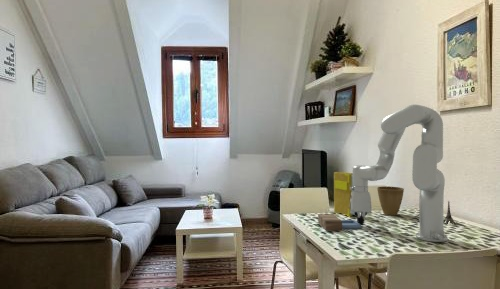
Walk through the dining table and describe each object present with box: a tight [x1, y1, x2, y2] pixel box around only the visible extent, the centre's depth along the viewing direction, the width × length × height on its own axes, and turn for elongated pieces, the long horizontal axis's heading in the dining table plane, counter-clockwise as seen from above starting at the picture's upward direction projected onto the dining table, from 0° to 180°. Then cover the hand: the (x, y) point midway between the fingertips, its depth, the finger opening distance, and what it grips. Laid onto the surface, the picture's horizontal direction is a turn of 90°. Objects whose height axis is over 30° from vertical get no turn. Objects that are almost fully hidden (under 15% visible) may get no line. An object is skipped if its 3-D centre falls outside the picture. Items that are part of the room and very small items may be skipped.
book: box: [333, 171, 357, 217], centre depth 204 cm, size 17×7×25 cm, turn 22°
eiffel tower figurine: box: [444, 200, 457, 226], centre depth 178 cm, size 15×10×13 cm
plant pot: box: [376, 185, 405, 217], centre depth 202 cm, size 15×15×16 cm
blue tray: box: [340, 219, 362, 230], centre depth 173 cm, size 11×16×2 cm
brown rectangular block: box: [317, 213, 343, 232], centre depth 173 cm, size 16×8×5 cm, turn 2°
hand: (360, 224), depth 173 cm, fingers closed
